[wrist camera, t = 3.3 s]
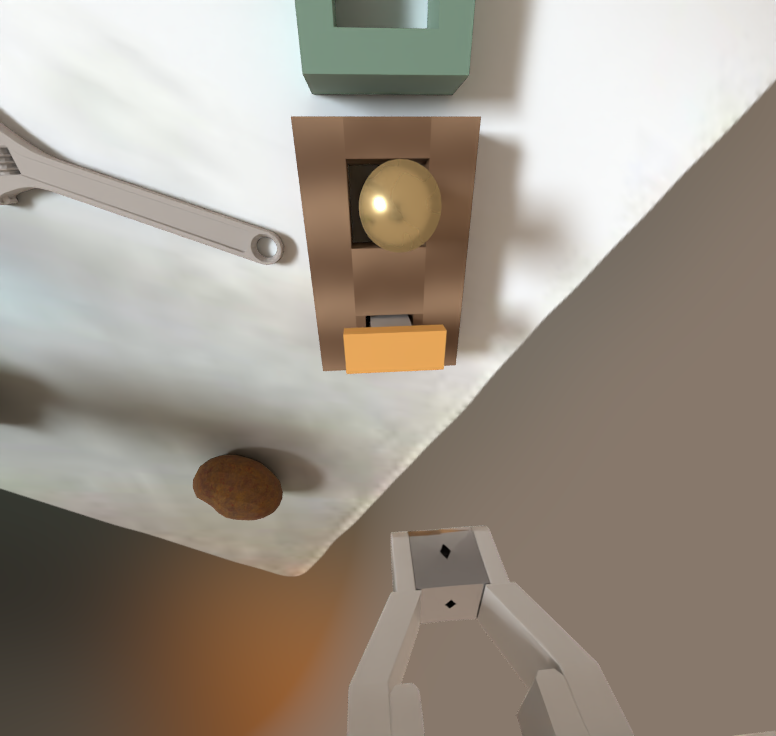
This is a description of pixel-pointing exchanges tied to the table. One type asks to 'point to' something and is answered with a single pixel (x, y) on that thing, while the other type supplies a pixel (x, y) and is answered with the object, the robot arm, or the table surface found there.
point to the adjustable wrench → (124, 199)
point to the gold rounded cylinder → (400, 205)
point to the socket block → (366, 259)
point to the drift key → (394, 346)
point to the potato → (238, 487)
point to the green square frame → (386, 51)
